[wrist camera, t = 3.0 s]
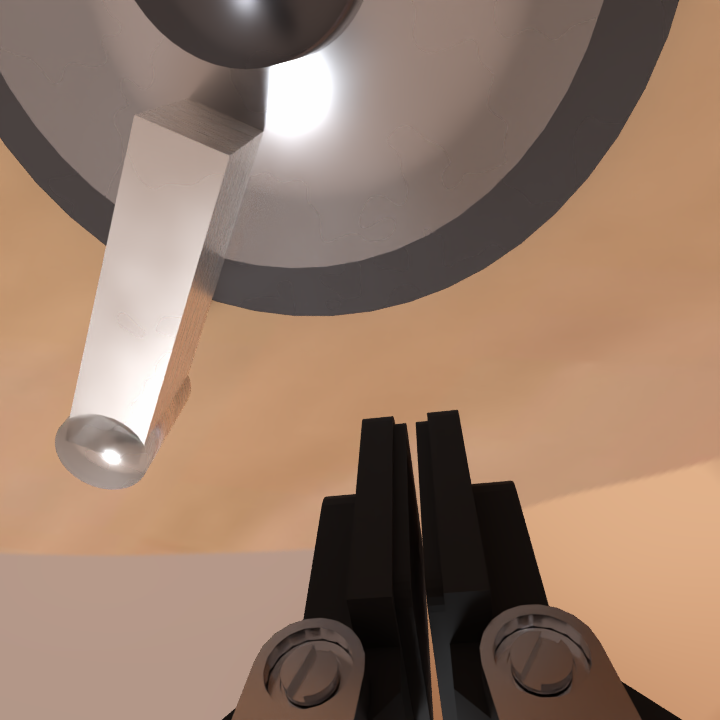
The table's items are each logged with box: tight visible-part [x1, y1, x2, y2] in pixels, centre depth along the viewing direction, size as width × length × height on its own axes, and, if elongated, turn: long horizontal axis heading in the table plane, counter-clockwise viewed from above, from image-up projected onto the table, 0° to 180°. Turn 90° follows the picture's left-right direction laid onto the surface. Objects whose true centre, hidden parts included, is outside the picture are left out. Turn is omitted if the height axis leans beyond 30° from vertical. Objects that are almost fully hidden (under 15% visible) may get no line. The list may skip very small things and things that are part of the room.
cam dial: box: [0, 0, 604, 489], centre depth 11 cm, size 17×12×4 cm
